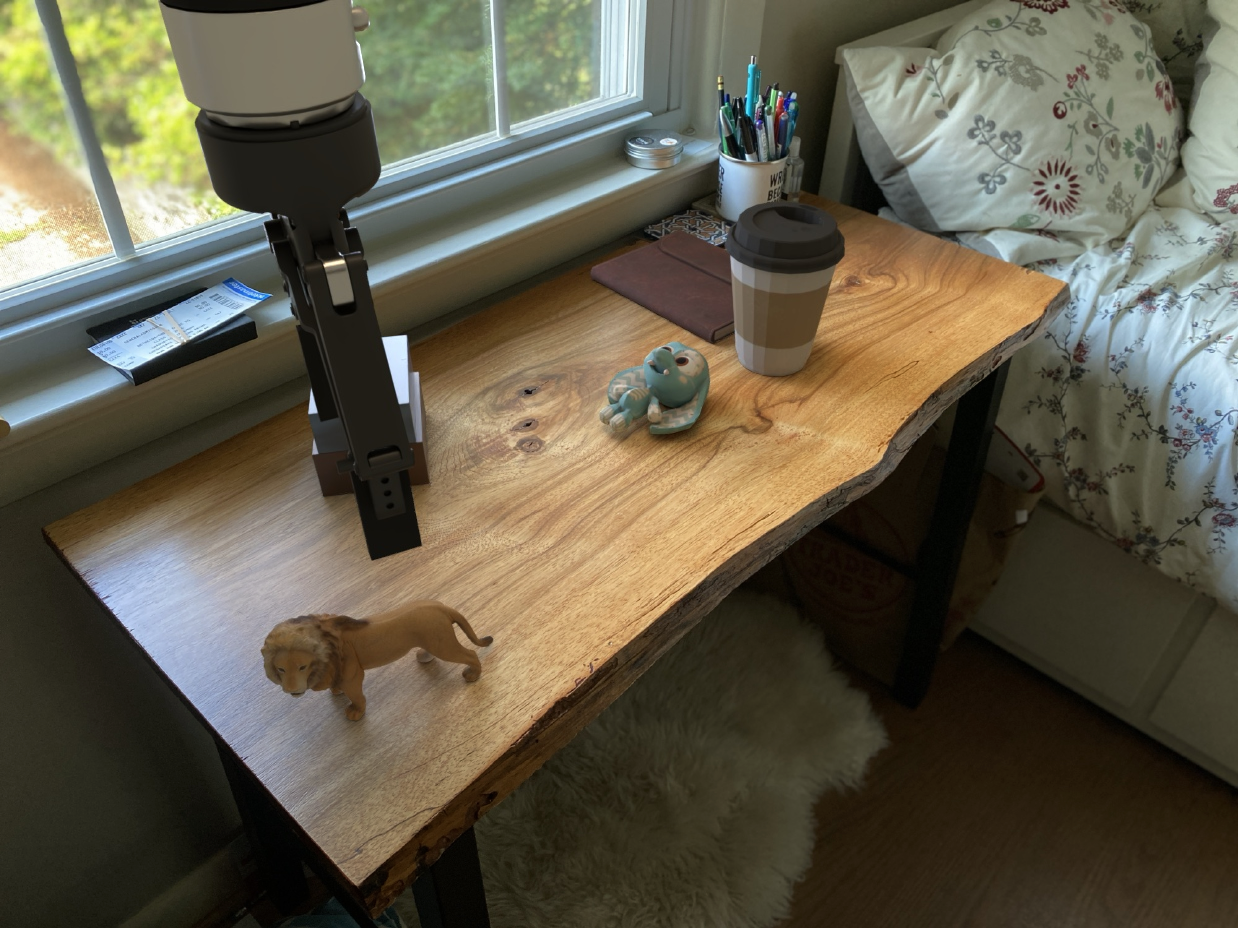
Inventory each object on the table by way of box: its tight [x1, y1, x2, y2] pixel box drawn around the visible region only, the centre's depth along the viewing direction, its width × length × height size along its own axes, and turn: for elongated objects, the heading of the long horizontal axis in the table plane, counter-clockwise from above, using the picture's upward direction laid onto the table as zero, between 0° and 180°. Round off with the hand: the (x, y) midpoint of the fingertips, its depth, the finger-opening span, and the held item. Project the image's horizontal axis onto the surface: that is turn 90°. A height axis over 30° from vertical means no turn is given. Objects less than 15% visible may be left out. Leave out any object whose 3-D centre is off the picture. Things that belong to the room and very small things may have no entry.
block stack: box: [307, 334, 430, 497], centre depth 82 cm, size 9×11×8 cm
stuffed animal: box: [598, 340, 711, 435], centre depth 87 cm, size 11×7×12 cm
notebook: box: [590, 229, 735, 344], centre depth 107 cm, size 15×20×2 cm
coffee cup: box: [724, 201, 846, 377], centre depth 92 cm, size 11×11×15 cm
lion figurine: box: [259, 598, 495, 721], centre depth 61 cm, size 15×5×9 cm, turn 121°
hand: (365, 475), depth 54 cm, fingers open, 13 cm apart
